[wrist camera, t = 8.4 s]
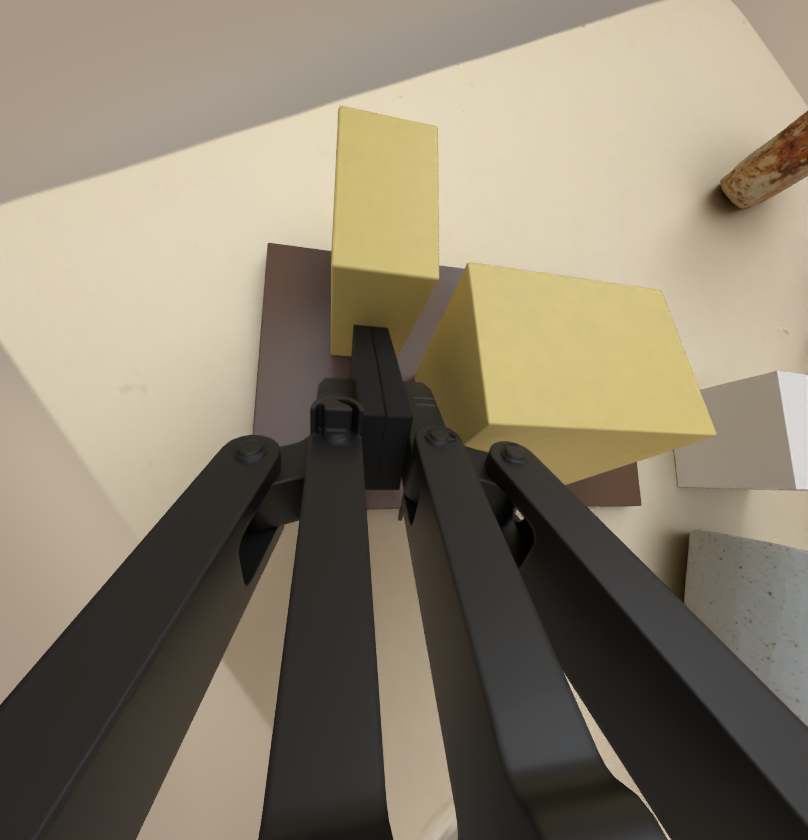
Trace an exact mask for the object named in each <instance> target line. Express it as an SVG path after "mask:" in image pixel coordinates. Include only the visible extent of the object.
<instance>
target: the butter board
mask: <svg viewBox="0 0 808 840" xmlns="http://www.w3.org/2000/svg"><path fill="white" fill-rule="evenodd" d="M331 255H332V251H326V250H318V249H311V248H303V247H296V246H288V245H281V244H273V243H268V248H267V261H266V273H265V286H264V298H263V311H262V323H261V336H260V349H259V361H258V374H257V386H256V399H255V411H254V424H253V435H263V436H266V437H269V438H272V439H273V440H274V441H276V442H277V443H278V445H279V447H280V446H286V445H290V444H294V443H297V442H300V441H302V440H304V439H305V438H306V437H308V436H309V435H310V407H311V405H312V404H313V402H315V401H316V400H317V392H318V384H319V383H320V382H321V381H322V380H323V379H324V378H325V377H326V378H342V379H350V369H351V356H340V355H332V354H331ZM464 270H465V269H461V268H454V267H446V266H439V280H438V282H437V284H436V286H435V288H434V289H433V291H432V293H431V295H430V297H429V299H428V301H427V302H426V304H425V306H424V308H423V310H422V312H421V314H420V315H419V317H418V319H417V321H416V323H415V325H414V326H413V328H412V330H411V332H410V334H409V336H408V338H407V339H406V341H405V343H404V345H403V347H402V349H401V351H400V352H399V354H398V356H397V361H398V365H399V368H400V372H401V375H402V379H403V381H406V382H415V374H416V372H417V369H418V367H419V365H420V363H421V361H422V359H423V357H424V355H425V352H426V350H427V348H428V346H429V344H430V342H431V340H432V338H433V335H434V333H435V331H436V329H437V327H438V325H439V323H440V321H441V318H442V316H443V314H444V312H445V310H446V308H447V306H448V304H449V301H450V299H451V297H452V295H453V293H454V291H455V289H456V287H457V284H458V282H459V280H460V278H461V276H462V274H463V272H464ZM565 486H566V487H567V488H568V489H569V490H570V491H571V492H572V493H573V494H574V495H575V496H576V497H577V498H578V499H579V500H580V501H581V502H582V503H583V504H584V505H585V506H641V497H640V488H639V479H638V469H637V462H634V463H631V464H628V465H625V466H622V467H619V468H616V469H613V470H610V471H607V472H604V473H601V474H598V475H595V476H591V477H588V478H585V479H582V480H579V481H576V482H573V483H570V484H567V485H565ZM403 491H404V487H403V482H402V478H401V484H400V489H399V490H365V493H366V508H367V509H400V506H401V501H402V496H403Z"/></svg>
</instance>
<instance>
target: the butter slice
mask: <svg viewBox="0 0 808 840" xmlns="http://www.w3.org/2000/svg"><path fill="white" fill-rule="evenodd" d="M438 280H439V207H438V128H437V127H436V126H432V125H428V124H423V123H419V122H414V121H409V120H405V119H400V118H396V117H391V116H386V115H382V114H377V113H373V112H368V111H363V110H359V109H354V108H350V107H345V106H340V107H339V110H338V130H337V151H336V172H335V193H334V213H333V234H332V255H331V354H332V355H340V356H351V354H352V339H353V325H363V326H374V327H385V328H388V330H389V333H390V337H391V340H392V344H393V347H394V351H395V354H396V358H397V356H398V354H399V352H400V351H401V349H402V347H403V345H404V343H405V341H406V339H407V338H408V336H409V334H410V332H411V330H412V328H413V326H414V325H415V323H416V321H417V319H418V317H419V315H420V314H421V312H422V310H423V308H424V306H425V304H426V302H427V301H428V299H429V297H430V295H431V293H432V291H433V289H434V288H435V286H436V284H437V282H438Z"/></svg>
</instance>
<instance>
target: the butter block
mask: <svg viewBox="0 0 808 840" xmlns="http://www.w3.org/2000/svg"><path fill="white" fill-rule="evenodd" d="M415 382H422V383H424V384H425V385H426V386H427V387H428V388H429V389H431V391H432V393H433V396H434V400H435V401H436V403H437V407H438V408H439V411H440V413H441V416H442V418H443V421H444V423H445V426H446V427H447V428H450V429H451V430H453V431H454V432H456V433H457V434H458V435H459V437H460V438H461V440H462V442H463V444H464V445H465V446H467V447H470V448H474V449H478V450H482V451H486V452H489V449H490V447H491V446H492V445H493V444H494V443H496V442H499V441H509V442H514V443H517V444H519V445H521V446H524V447H526V448H527V449H528V450H530V451H531V452H532V453H533V454H534V455H535V456H536V457H537V458H538V459H539V460H540V461H541V462H542V463H543V464H544V465H545V466H546V467H547V468H548V469H549V470H550V471H551V472H552V473H553V474H554V475H555V476H556V477H557V478H558V479H559V480H560V481H561V482H562V483H563V484H564V485H567V484H570V483H573V482H576V481H579V480H582V479H585V478H588V477H591V476H595V475H598V474H601V473H604V472H607V471H610V470H613V469H616V468H619V467H622V466H625V465H628V464H631V463H634V462H637V461H640V460H644V459H647V458H650V457H653V456H656V455H659V454H662V453H665V452H668V451H671V450H674V449H677V448H680V447H683V446H686V445H690V444H693V443H696V442H699V441H702V440H705V439H708V438H711V437H714V436H716V435H717V433H716V431H715V428H714V426H713V423H712V420H711V418H710V415H709V413H708V410H707V407H706V405H705V402H704V400H703V397H702V394H701V392H700V389H699V387H698V384H697V381H696V379H695V376H694V374H693V371H692V368H691V366H690V363H689V361H688V358H687V355H686V353H685V350H684V348H683V345H682V342H681V340H680V337H679V335H678V332H677V329H676V327H675V324H674V322H673V319H672V316H671V314H670V311H669V309H668V306H667V303H666V301H665V298H664V296H663V293H662V291H661V290H656V289H649V288H642V287H635V286H628V285H622V284H615V283H608V282H601V281H594V280H587V279H581V278H574V277H567V276H560V275H553V274H546V273H540V272H533V271H526V270H519V269H512V268H505V267H499V266H492V265H485V264H478V263H471V262H468V263H467V265H466V267H465V270H464V272H463V274H462V276H461V278H460V280H459V282H458V284H457V287H456V289H455V291H454V293H453V295H452V297H451V299H450V301H449V304H448V306H447V308H446V310H445V312H444V314H443V316H442V318H441V321H440V323H439V325H438V327H437V329H436V331H435V333H434V335H433V338H432V340H431V342H430V344H429V346H428V348H427V350H426V352H425V355H424V357H423V359H422V361H421V363H420V365H419V367H418V369H417V372H416V374H415Z"/></svg>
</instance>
